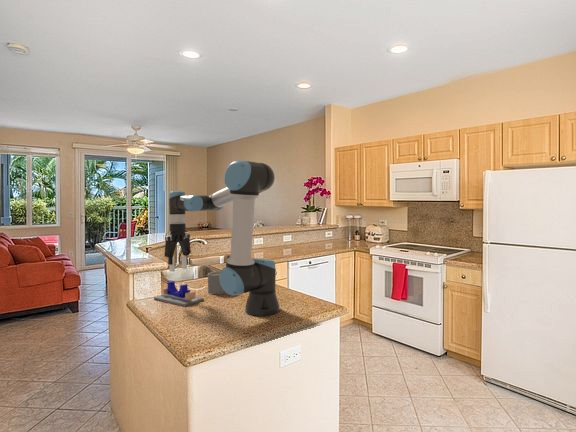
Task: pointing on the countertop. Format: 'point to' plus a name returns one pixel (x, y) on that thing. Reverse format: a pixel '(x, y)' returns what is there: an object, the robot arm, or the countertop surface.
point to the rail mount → (188, 300)
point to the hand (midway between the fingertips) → (178, 269)
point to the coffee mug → (214, 283)
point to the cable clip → (175, 292)
